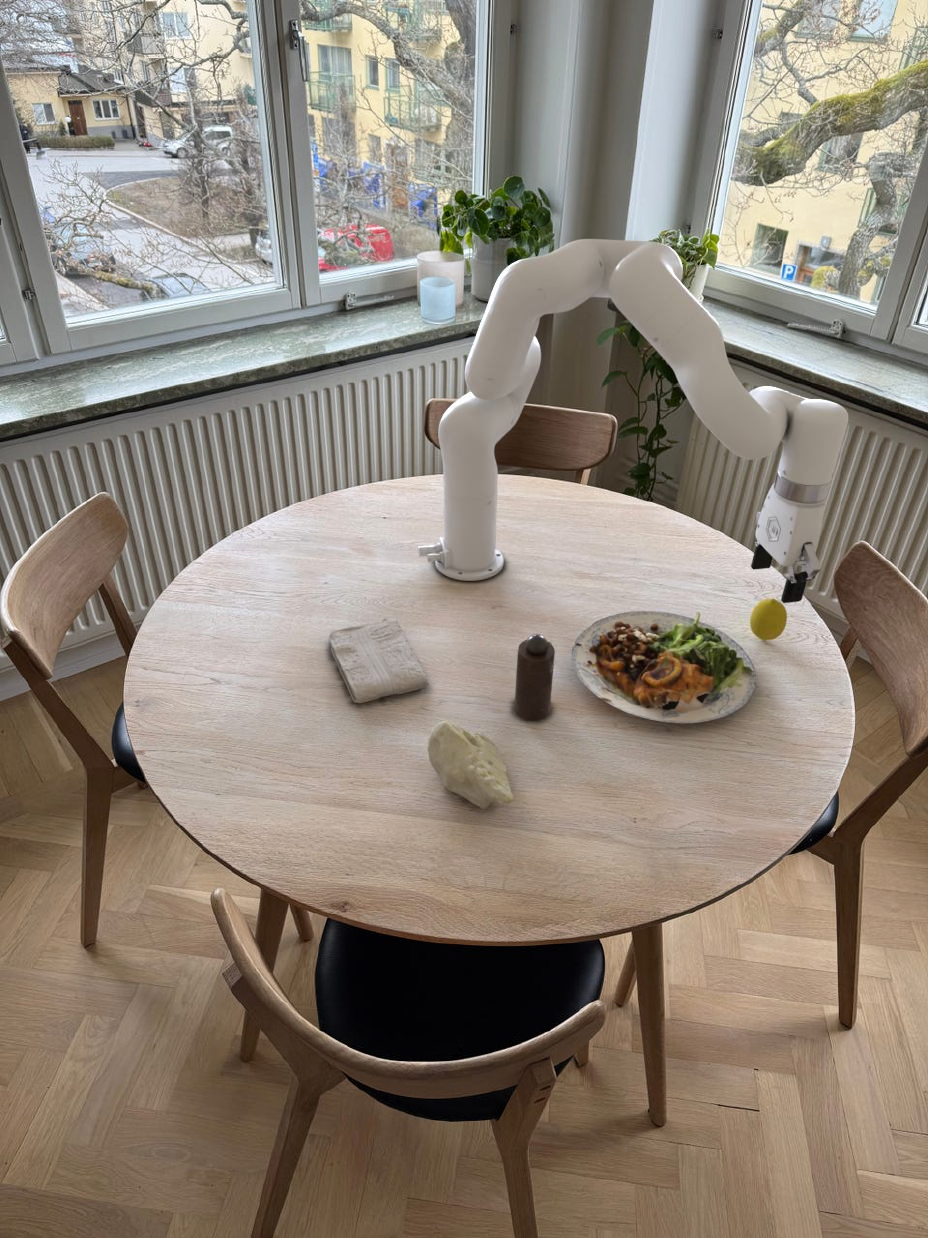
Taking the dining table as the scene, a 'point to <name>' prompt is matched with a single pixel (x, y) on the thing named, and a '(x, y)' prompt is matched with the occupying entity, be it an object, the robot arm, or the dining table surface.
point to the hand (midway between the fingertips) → (775, 584)
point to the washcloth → (376, 660)
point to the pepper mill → (534, 678)
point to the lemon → (768, 619)
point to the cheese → (469, 764)
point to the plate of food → (664, 667)
